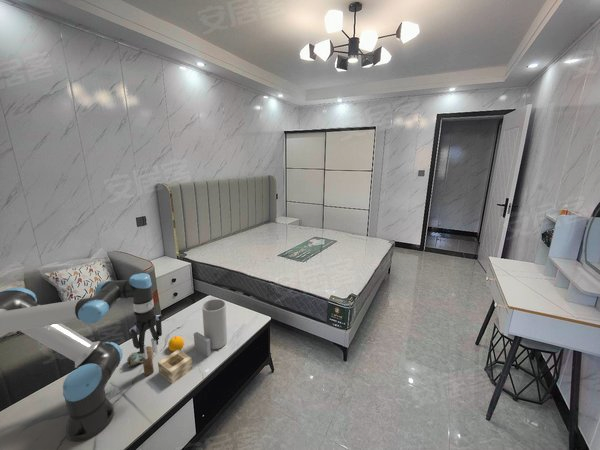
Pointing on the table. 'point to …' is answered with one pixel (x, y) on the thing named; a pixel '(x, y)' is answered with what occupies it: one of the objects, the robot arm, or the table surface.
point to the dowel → (148, 363)
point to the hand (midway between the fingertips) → (150, 354)
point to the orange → (176, 343)
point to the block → (175, 366)
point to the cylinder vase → (215, 322)
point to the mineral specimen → (137, 358)
